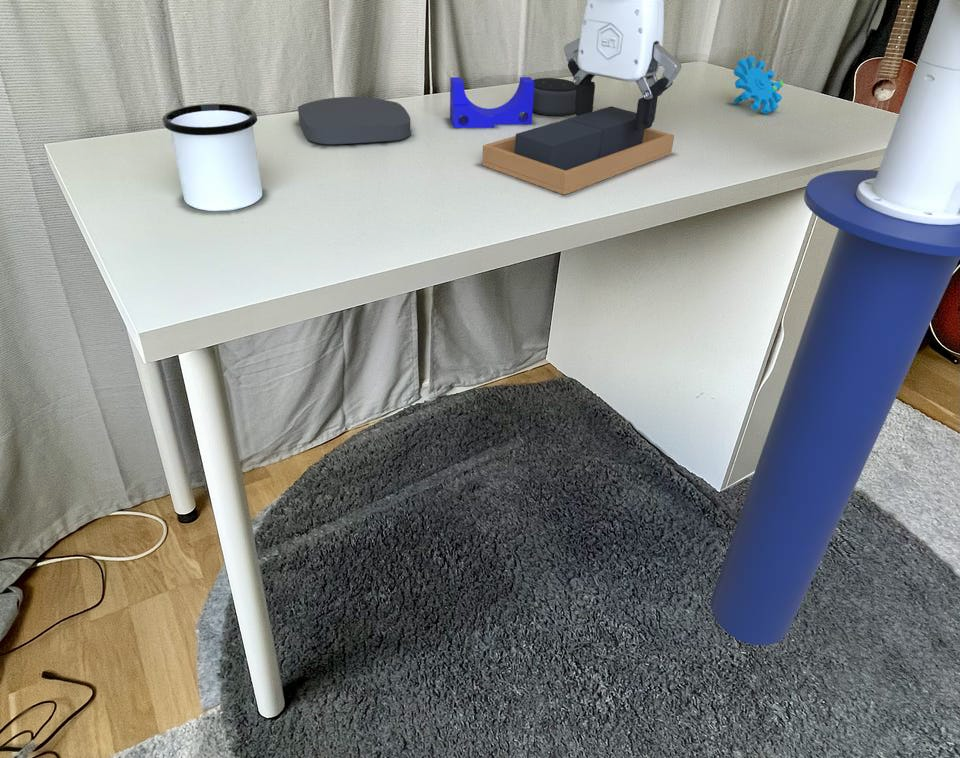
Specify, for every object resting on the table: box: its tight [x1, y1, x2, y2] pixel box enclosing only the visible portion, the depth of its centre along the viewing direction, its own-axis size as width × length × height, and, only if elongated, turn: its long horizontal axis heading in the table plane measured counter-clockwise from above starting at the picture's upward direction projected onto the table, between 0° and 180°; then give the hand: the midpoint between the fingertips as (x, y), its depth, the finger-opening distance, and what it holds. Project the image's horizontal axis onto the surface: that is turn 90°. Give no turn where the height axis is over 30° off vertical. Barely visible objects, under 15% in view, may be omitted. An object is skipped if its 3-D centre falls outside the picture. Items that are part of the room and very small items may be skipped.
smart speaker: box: [532, 77, 577, 117], centre depth 115 cm, size 9×9×4 cm
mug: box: [161, 103, 263, 212], centre depth 79 cm, size 12×10×9 cm
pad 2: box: [566, 105, 644, 159], centre depth 99 cm, size 6×10×4 cm, turn 136°
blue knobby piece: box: [733, 55, 785, 115], centre depth 121 cm, size 11×6×10 cm
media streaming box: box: [297, 96, 412, 145], centre depth 103 cm, size 15×15×3 cm
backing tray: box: [481, 127, 675, 196], centre depth 96 cm, size 14×24×3 cm, turn 136°
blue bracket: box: [449, 76, 535, 129], centre depth 107 cm, size 12×4×6 cm, turn 100°
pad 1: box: [515, 119, 602, 171], centre depth 92 cm, size 6×10×4 cm, turn 136°
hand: (612, 121), depth 97 cm, fingers open, 9 cm apart
